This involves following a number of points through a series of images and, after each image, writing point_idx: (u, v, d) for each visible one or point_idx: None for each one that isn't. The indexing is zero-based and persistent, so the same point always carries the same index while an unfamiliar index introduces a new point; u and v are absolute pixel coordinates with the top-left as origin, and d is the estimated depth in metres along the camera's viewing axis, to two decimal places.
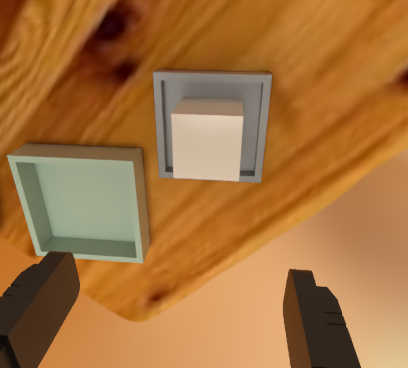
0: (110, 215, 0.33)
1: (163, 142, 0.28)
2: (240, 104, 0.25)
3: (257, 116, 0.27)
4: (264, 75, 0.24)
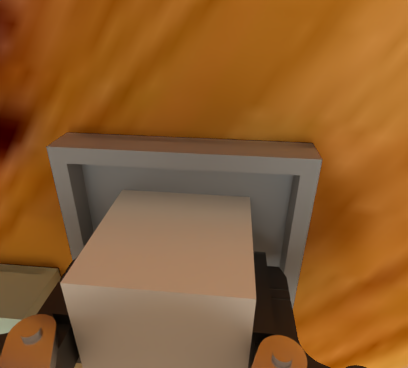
0: None
1: None
2: (246, 223, 0.11)
3: (281, 229, 0.13)
4: (303, 159, 0.10)
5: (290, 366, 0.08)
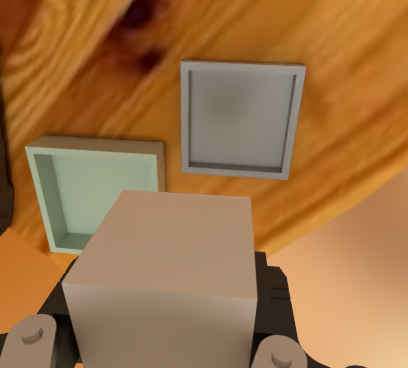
0: None
1: (187, 136, 0.27)
2: (247, 223, 0.11)
3: (287, 110, 0.26)
4: (298, 66, 0.23)
5: (290, 366, 0.08)
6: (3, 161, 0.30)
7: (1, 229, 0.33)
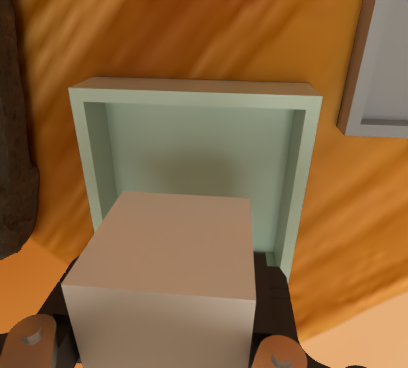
0: None
1: (373, 62, 0.14)
2: (246, 224, 0.11)
3: None
4: None
5: (290, 366, 0.08)
6: (23, 123, 0.18)
7: (21, 239, 0.20)
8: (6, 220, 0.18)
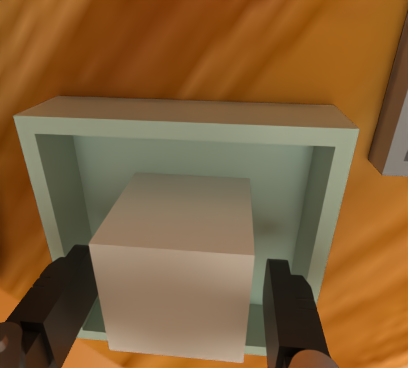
0: None
1: None
2: (246, 199, 0.12)
3: None
4: None
5: None
6: None
7: None
8: None
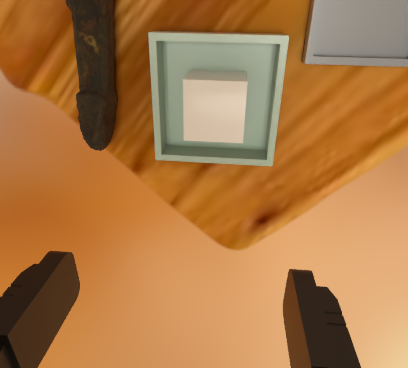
0: None
1: (318, 18, 0.26)
2: (244, 74, 0.27)
3: None
4: None
5: None
6: (113, 59, 0.29)
7: (107, 139, 0.32)
8: (104, 118, 0.29)
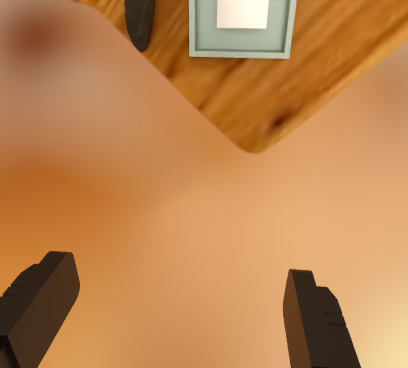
0: None
1: None
2: None
3: None
4: None
5: None
6: None
7: (146, 40, 0.37)
8: (146, 15, 0.35)
